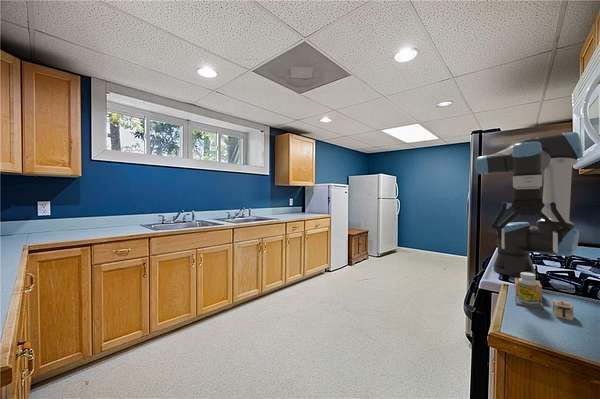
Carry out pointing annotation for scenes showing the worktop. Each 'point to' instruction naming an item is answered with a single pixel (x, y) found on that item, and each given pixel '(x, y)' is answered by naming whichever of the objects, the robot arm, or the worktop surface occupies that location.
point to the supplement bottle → (528, 288)
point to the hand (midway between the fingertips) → (528, 249)
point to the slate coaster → (539, 305)
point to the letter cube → (563, 309)
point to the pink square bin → (517, 288)
